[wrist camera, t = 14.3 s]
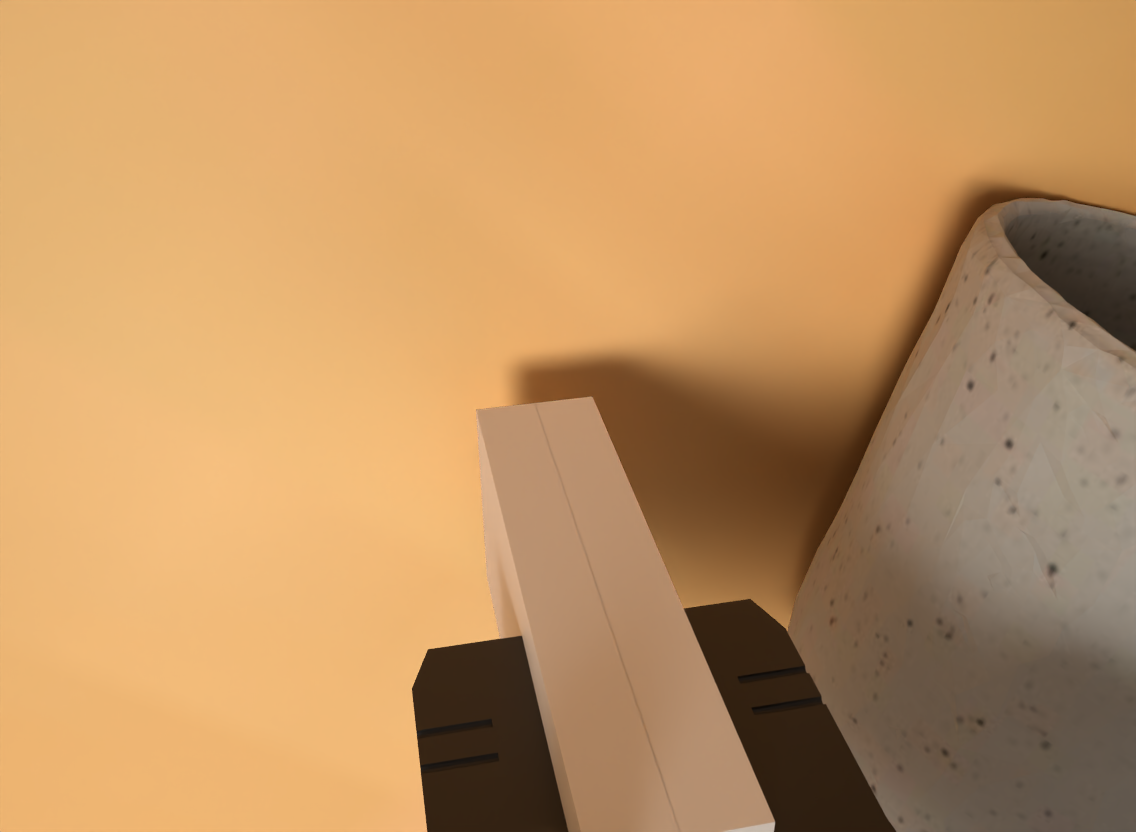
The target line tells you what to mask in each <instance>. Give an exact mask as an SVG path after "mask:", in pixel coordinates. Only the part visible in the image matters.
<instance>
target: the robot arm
mask: <svg viewBox="0 0 1136 832" xmlns="http://www.w3.org/2000/svg"><path fill="white" fill-rule="evenodd" d="M476 415H477V431H478V446H479V462H480V477H481V493H482V508H483V524H484V539H485V555H486V570H487V579H488V584H489V589H490V593H491V598H492V603H493V608H494V612H495V617H496V622H497V627H498V631H499V636H500V639H496V640H489V641H482V642H475V643H469V644H462V645H455V646H448V647H442V648H435V649H428V651H427V653H426V656H425V658H424V661H423V663H422V665H421V668H420V670H419V673H418V675H417V678H416V680H415V683H414V685H413V687H412V694H413V703H414V712H415V721H416V731H417V740H418V749H419V758H420V767H421V777H422V786H423V795H424V805H425V814H426V823H427V832H896V830H895V829H894V827H893V826H892V824H891V823H890V822H889V820H888V819H887V817H886V816H885V814H884V812H883V810H882V808H881V806H880V804H879V802H878V801H877V799H876V797H875V795H874V793H873V791H872V789H871V787H870V786H869V784H868V782H867V780H866V778H865V776H864V774H863V773H862V771H861V769H860V767H859V765H858V763H857V761H856V759H855V758H854V756H853V754H852V752H851V750H850V748H849V746H848V744H847V743H846V741H845V739H844V737H843V735H842V733H841V731H840V729H839V728H838V726H837V724H836V722H835V720H834V718H833V716H832V715H831V713H830V711H829V709H828V707H827V705H826V704H823V702H822V696H821V694H820V692H819V690H818V688H817V686H816V685H815V683H814V681H813V679H812V677H811V675H810V673H807V672H806V669H805V664H804V662H803V660H802V658H801V657H800V655H799V653H798V651H797V649H796V647H795V645H794V643H793V642H792V640H791V638H790V636H789V634H788V632H787V630H786V629H785V628H784V627H783V626H782V625H781V624H780V623H778V622H777V621H776V620H775V619H774V618H772V617H771V616H770V615H769V614H768V613H766V612H765V611H764V610H763V609H762V608H760V607H759V606H758V605H757V604H756V603H754V602H753V601H752V600H751V599H747V600H740V601H733V602H726V603H720V604H713V605H706V606H699V607H692V608H686V609H684V608H683V606H682V604H681V601H680V599H679V597H678V594H677V592H676V590H675V587H674V585H673V583H672V580H671V578H670V576H669V573H668V571H667V569H666V567H665V564H664V562H663V560H662V557H661V555H660V553H659V550H658V548H657V546H656V543H655V541H654V539H653V536H652V534H651V532H650V529H649V527H648V525H647V522H646V520H645V518H644V515H643V513H642V511H641V508H640V506H639V504H638V501H637V499H636V497H635V494H634V492H633V490H632V487H631V485H630V483H629V480H628V478H627V476H626V473H625V471H624V469H623V466H622V464H621V462H620V459H619V457H618V455H617V453H616V450H615V448H614V446H613V443H612V441H611V439H610V436H609V434H608V432H607V429H606V427H605V425H604V422H603V420H602V418H601V415H600V413H599V411H598V408H597V406H596V404H595V401H594V399H593V397H583V398H575V399H566V400H557V401H548V402H539V403H530V404H522V405H513V406H504V407H495V408H486V409H477V410H476Z"/></svg>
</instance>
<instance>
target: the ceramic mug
mask: <svg viewBox="0 0 1136 832" xmlns="http://www.w3.org/2000/svg"><path fill="white" fill-rule="evenodd" d="M787 632H788V634H789V636H790V638H791V640H792V642H793V643H794V645H795V647H796V649H797V651H798V653H799V655H800V657H801V658H802V660H803V662H804V664H805V669H806V672H807V673H810V675H811V677H812V679H813V681H814V683H815V685H816V686H817V688H818V690H819V692H820V694H821V696H822V702H823V704H826V705H827V707H828V709H829V711H830V713H831V715H832V716H833V718H834V720H835V722H836V724H837V726H838V728H839V729H840V731H841V733H842V735H843V737H844V739H845V741H846V743H847V744H848V746H849V748H850V750H851V752H852V754H853V756H854V758H855V759H856V761H857V763H858V765H859V767H860V769H861V771H862V773H863V774H864V776H865V778H866V780H867V782H868V784H869V786H870V787H871V789H872V791H873V793H874V795H875V797H876V799H877V801H878V802H879V804H880V806H881V808H882V810H883V812H884V814H885V816H886V817H887V819H888V820H889V822H890V823H891V824H892V826H893V827H894V829H895V830H896V832H1136V216H1133V215H1130V214H1126V213H1123V212H1118V211H1113V210H1108V209H1103V208H1098V207H1093V206H1088V205H1082V204H1077V203H1073V202H1070V201H1067V200H1055V201H1050V200H1047V199H1044V198H1019V199H1016V200H1012V201H1008V202H1004V203H998V204H993V205H992V206H991V207H990V208H989V209H987V210H986V211H985V212H984V213H983V214H982V215H981V216H979V217H978V219H977V220H976V222H975V224H974V225H973V227H972V229H971V230H970V232H969V234H968V235H967V237H966V239H965V240H964V242H963V244H962V245H961V248H960V250H959V252H958V255H957V257H956V260H955V262H954V264H953V267H952V269H951V271H950V274H949V276H948V279H947V281H946V283H945V286H944V288H943V290H942V293H941V295H940V298H939V300H938V302H937V305H936V307H935V309H934V312H933V313H932V315H931V317H930V319H929V321H928V323H927V325H926V327H925V329H924V330H923V332H922V334H921V336H920V338H919V340H918V342H917V344H916V345H915V347H914V349H913V351H912V353H911V355H910V357H909V359H908V361H907V362H906V365H905V367H904V369H903V371H902V373H901V375H900V377H899V380H898V382H897V384H896V386H895V388H894V390H893V393H892V395H891V397H890V399H889V401H888V403H887V406H886V408H885V410H884V412H883V414H882V416H881V419H880V421H879V423H878V425H877V427H876V429H875V432H874V434H873V436H872V439H871V441H870V443H869V445H868V448H867V450H866V452H865V455H864V457H863V459H862V462H861V464H860V466H859V468H858V471H857V473H856V475H855V477H854V479H853V481H852V484H851V486H850V488H849V490H848V492H847V494H846V496H845V499H844V501H843V503H842V505H841V507H840V509H839V511H838V513H837V515H836V517H835V518H834V520H833V522H832V524H831V526H830V527H829V529H828V531H827V533H826V535H825V537H824V538H823V540H822V542H821V544H820V546H819V547H818V549H817V552H816V554H815V556H814V558H813V560H812V563H811V565H810V567H809V569H808V572H807V574H806V576H805V578H804V581H803V583H802V585H801V587H800V589H799V592H798V594H797V596H796V599H795V604H794V608H793V612H792V616H791V620H790V624H789V627H788V631H787Z"/></svg>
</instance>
